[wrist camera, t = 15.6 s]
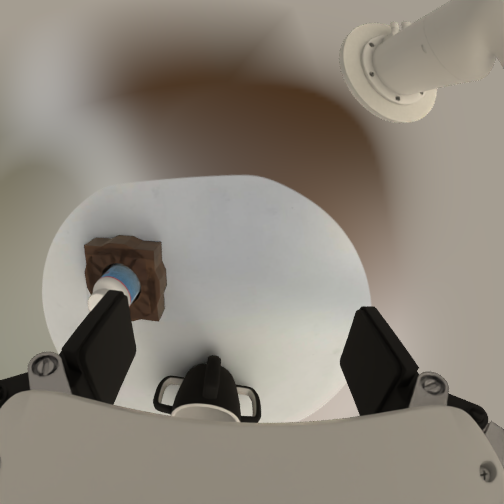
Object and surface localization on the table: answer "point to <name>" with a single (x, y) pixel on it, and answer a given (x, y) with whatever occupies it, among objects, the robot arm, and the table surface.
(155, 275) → the hole plate
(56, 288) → the table surface
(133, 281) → the pill bottle
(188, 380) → the mug
